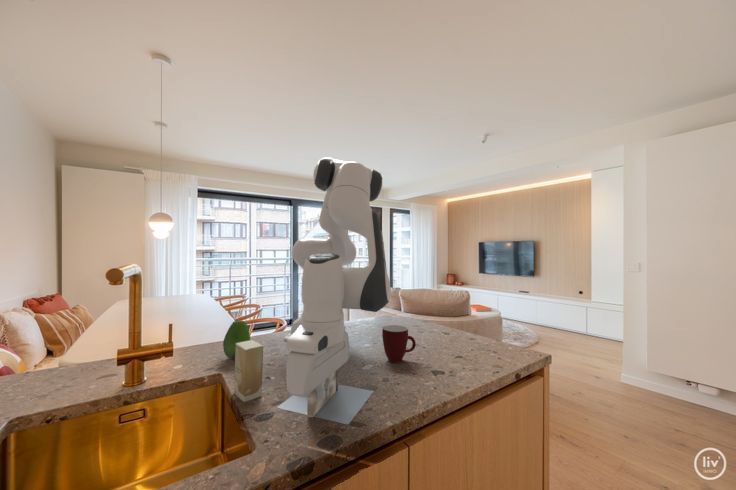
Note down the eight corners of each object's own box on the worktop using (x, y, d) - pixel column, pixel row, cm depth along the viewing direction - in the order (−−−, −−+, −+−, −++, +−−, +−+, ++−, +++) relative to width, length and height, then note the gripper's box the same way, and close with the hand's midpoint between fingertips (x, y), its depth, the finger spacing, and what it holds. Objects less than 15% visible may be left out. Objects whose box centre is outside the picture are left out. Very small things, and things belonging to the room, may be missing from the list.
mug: (409, 354, 100) (410, 324, 100) (419, 363, 92) (419, 330, 92) (379, 356, 98) (379, 325, 98) (386, 366, 90) (386, 332, 90)
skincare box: (233, 394, 71) (234, 342, 72) (251, 388, 74) (252, 339, 75) (244, 404, 67) (245, 349, 67) (263, 397, 70) (263, 345, 70)
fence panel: (330, 390, 72) (331, 363, 72) (336, 391, 72) (336, 364, 72) (306, 416, 61) (307, 385, 61) (312, 417, 60) (313, 386, 61)
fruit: (219, 357, 95) (219, 319, 95) (244, 352, 100) (245, 316, 101) (227, 365, 89) (227, 324, 89) (253, 358, 94) (254, 320, 95)
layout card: (276, 409, 65) (276, 407, 65) (312, 381, 79) (312, 379, 79) (348, 426, 59) (348, 424, 59) (373, 392, 73) (373, 390, 73)
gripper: (332, 319, 73) (332, 375, 73) (280, 344, 54) (279, 421, 54) (356, 321, 71) (355, 379, 71) (310, 348, 52) (310, 428, 52)
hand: (322, 398), depth 62 cm, fingers closed
